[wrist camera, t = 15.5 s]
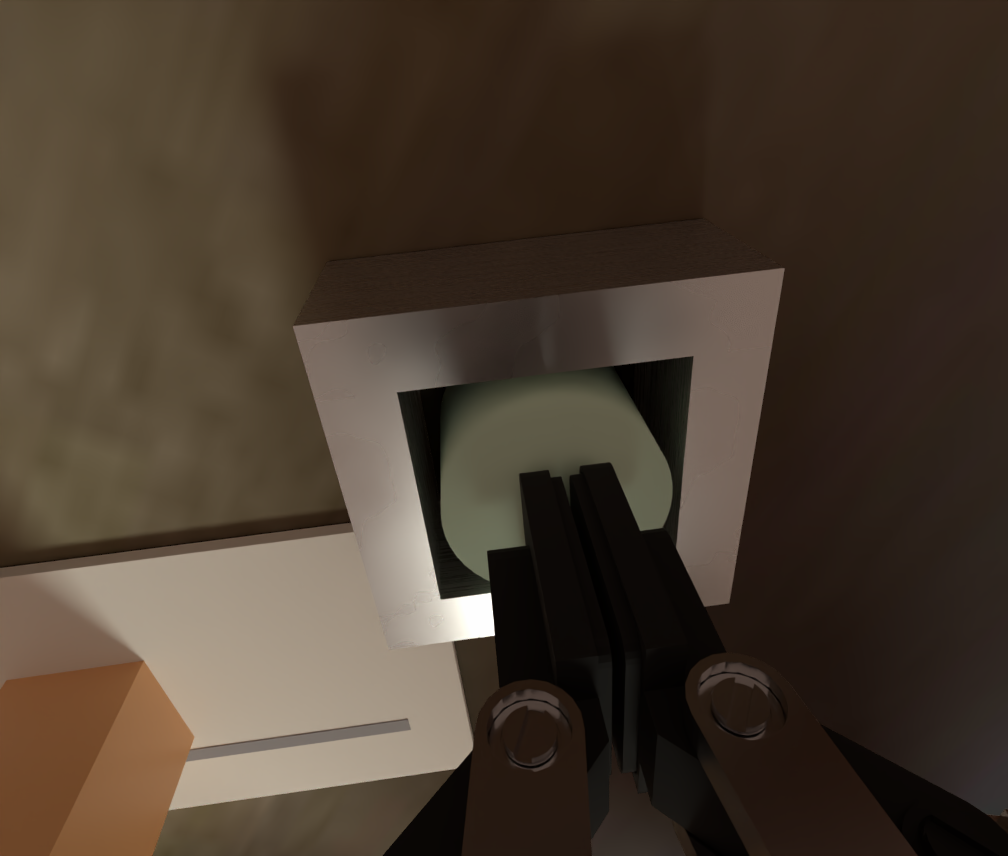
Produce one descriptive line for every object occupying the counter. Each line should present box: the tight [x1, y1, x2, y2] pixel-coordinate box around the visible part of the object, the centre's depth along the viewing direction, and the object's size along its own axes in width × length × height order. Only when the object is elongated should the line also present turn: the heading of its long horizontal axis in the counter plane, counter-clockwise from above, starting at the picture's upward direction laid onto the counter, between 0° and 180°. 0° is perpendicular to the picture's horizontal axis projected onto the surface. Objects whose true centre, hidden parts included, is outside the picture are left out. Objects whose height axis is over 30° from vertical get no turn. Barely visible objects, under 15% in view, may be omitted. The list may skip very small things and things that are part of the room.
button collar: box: [293, 218, 785, 650], centre depth 13 cm, size 8×8×4 cm
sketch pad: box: [0, 523, 474, 810], centre depth 19 cm, size 16×12×1 cm
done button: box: [440, 366, 672, 581], centre depth 13 cm, size 4×4×4 cm
